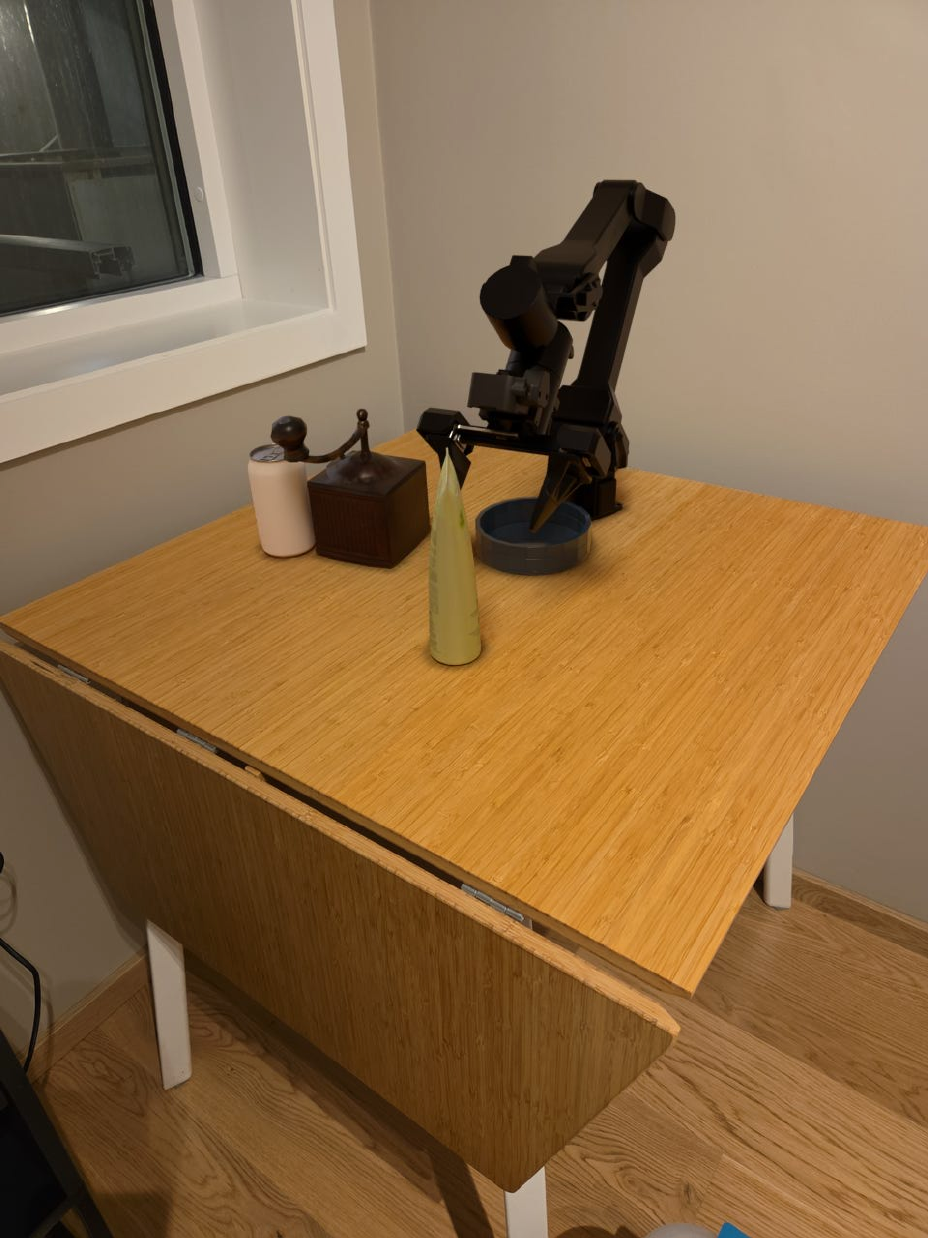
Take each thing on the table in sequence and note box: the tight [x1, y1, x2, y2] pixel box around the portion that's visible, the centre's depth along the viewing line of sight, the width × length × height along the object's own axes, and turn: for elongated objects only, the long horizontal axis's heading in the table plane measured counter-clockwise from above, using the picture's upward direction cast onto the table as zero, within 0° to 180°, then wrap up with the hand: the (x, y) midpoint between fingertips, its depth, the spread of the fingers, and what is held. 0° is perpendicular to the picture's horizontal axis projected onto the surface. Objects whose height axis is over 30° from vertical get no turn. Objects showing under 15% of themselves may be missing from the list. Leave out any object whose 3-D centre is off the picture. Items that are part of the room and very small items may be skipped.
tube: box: [428, 448, 482, 666], centre depth 82 cm, size 6×5×20 cm
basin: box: [474, 496, 592, 576], centre depth 104 cm, size 13×13×4 cm
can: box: [247, 442, 316, 559], centre depth 105 cm, size 6×6×12 cm
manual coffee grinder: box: [270, 408, 432, 569], centre depth 101 cm, size 16×11×18 cm
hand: (488, 523), depth 87 cm, fingers open, 9 cm apart
